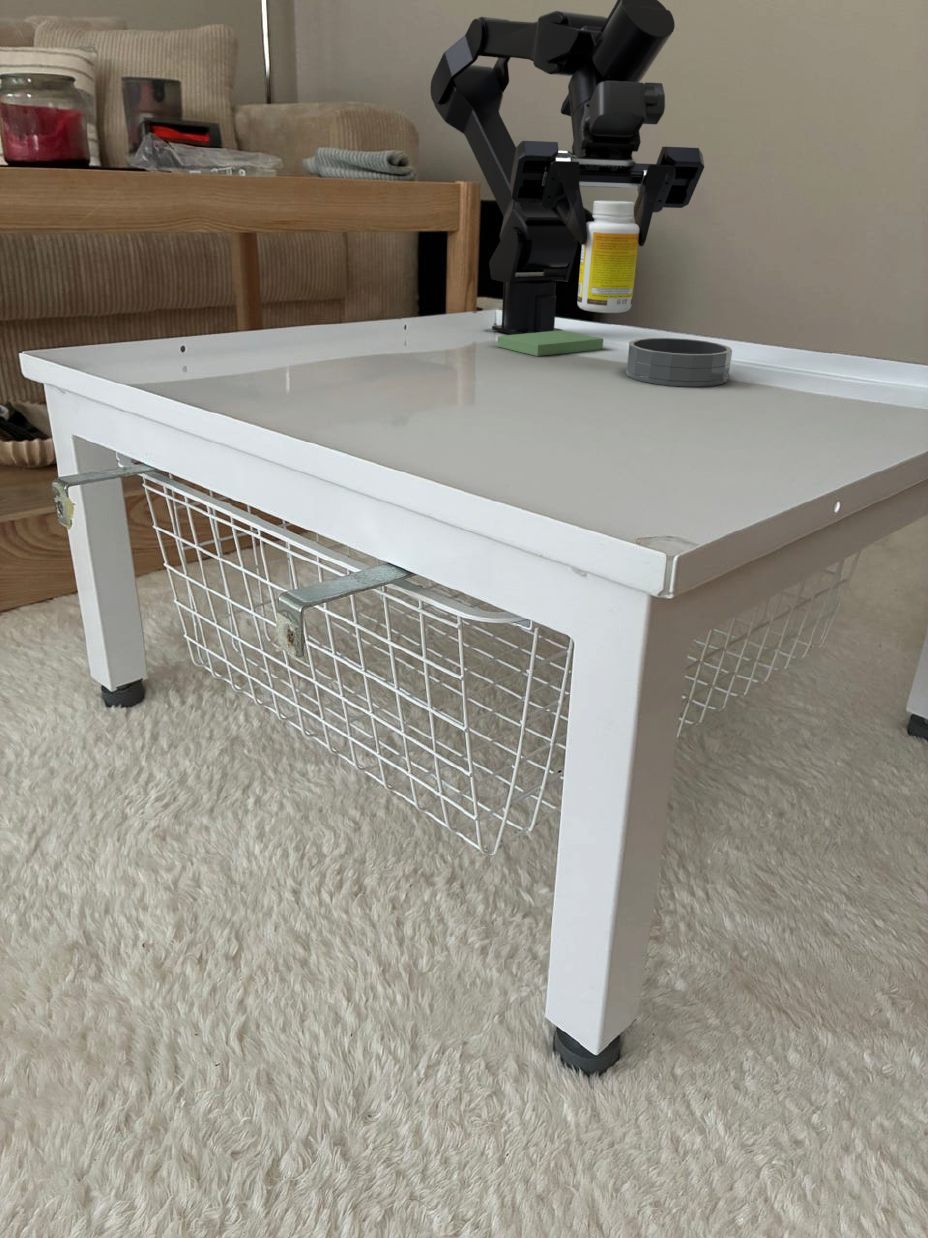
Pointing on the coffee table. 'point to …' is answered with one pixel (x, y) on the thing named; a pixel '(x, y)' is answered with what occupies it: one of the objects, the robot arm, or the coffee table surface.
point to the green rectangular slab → (550, 342)
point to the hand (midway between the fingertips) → (613, 242)
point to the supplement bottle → (609, 258)
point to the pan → (678, 362)
